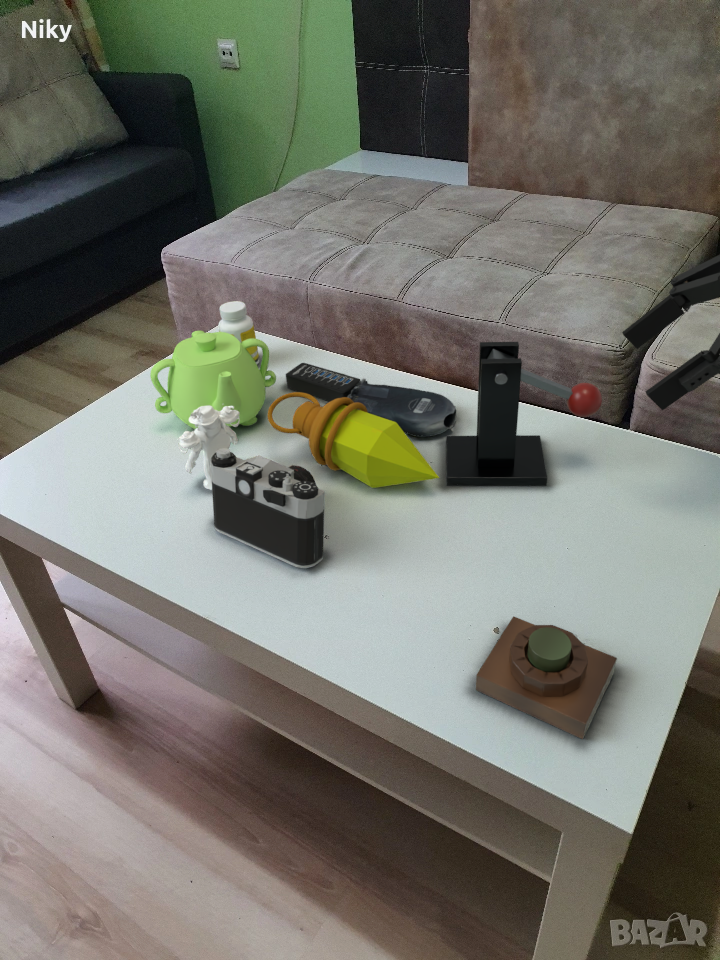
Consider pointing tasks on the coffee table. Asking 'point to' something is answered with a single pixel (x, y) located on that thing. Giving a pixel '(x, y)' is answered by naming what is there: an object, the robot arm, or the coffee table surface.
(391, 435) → the plumb bob
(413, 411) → the electronic device
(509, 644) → the button block
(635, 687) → the coffee table surface
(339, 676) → the coffee table surface
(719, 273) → the robot arm
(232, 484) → the camera
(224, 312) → the supplement bottle
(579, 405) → the lever
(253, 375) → the teapot
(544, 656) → the button
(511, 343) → the bracket
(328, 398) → the multiport hub
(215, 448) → the flower shoulder figurine
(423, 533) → the coffee table surface
